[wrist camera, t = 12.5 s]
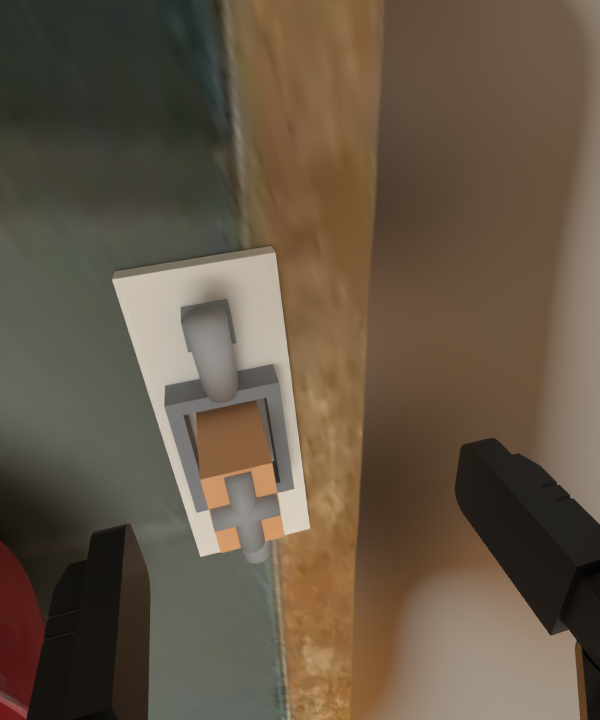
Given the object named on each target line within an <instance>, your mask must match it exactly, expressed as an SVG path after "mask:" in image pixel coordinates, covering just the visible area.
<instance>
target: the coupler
mask: <svg viewBox="0 0 600 720" xmlns="http://www.w3.org/2000/svg"><path fill="white" fill-rule="evenodd" d="M196 423H197V438H198V454H199V469H200V481H201V484H202V488H203V491H204V495H205V499H206V502H207V506H208V509H209V513H210V516H211V520H212V523H213V528H214V531H215V534H216V538H217V541H218V545H219V548H220V552H221V553H223V552H227V551H231V550H235V549H239V548H241V549H242V550H243V551H245V552H247V553H255V552H257V551H259V550H260V549H261V548H262V547H263V546H264V544H265V542H266V541H270V540H274V539H277V538H281V537H285V535H284V529H283V523H282V517H281V511H280V505H279V499H278V494H277V488H276V482H275V476H274V470H273V464H272V460H271V456H270V452H269V448H268V445H267V441H266V437H265V433H264V429H263V426H262V422H261V418H260V414H259V411H258V407H257V403H256V400H253V401H248V402H244V403H239V404H234V405H230V406H225V407H220V408H215V409H211V410H206V411H201V412H197V413H196Z"/></svg>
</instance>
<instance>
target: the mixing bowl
mask: <svg viewBox="0 0 600 720" xmlns="http://www.w3.org/2000/svg"><path fill="white" fill-rule="evenodd" d="M44 634H45V627H44V623H43V619H42V615H41V612H40V608H39V605H38V602H37V598H36V595H35V592H34V590H33V587H32V585H31V582H30V580H29V578H28V575H27V573H26V571H25V570H24V568H23V567H22V565H21V563H20V562H19V560H18V559H17V558H16V556H15V555H14V553H13V552H12V551H11V550H10V549H9V548H8V547H7V546H6V545H5V544H4V543H3V542H2V541H1V540H0V720H26V718H27V714H28V709H29V704H30V700H31V695H32V690H33V686H34V681H35V676H36V671H37V667H38V662H39V657H40V653H41V648H42V644H43V643H44Z"/></svg>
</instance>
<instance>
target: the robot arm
mask: <svg viewBox="0 0 600 720" xmlns="http://www.w3.org/2000/svg"><path fill="white" fill-rule="evenodd" d="M455 495H456V499H457V502H458V505H459V507H460V509H461V511H462V512H463V514H464V515H465V517H466V518H467V520H468V521H469V522H470V524H471V525H472V527H473V528H474V529H475V531H476V532H477V534H478V535H479V536H480V538H481V539H482V541H483V542H484V543H485V545H486V546H487V547H488V549H489V550H490V552H491V553H492V554H493V556H494V557H495V558H496V560H497V561H498V563H499V564H500V566H501V567H502V568H503V570H504V571H505V573H506V574H507V575H508V577H509V578H510V580H511V581H512V582H513V584H514V585H515V587H516V588H517V589H518V591H519V592H520V594H521V595H522V596H523V597H524V599H525V601H526V602H527V603H528V605H529V606H530V607H531V609H532V610H533V612H534V613H535V615H536V616H537V617H538V619H539V620H540V622H541V623H542V624H543V626H544V627H545V628H546V629H547V631H548V633H549V634H550V635H554V634H557V633H560V632H563V631H566V630H570V632H571V633H572V634H573V636H574V637H575V638H576V640H577V641H576V645H575V656H576V669H577V681H578V682H577V683H578V696H579V709H580V720H600V524H599V523H598V522H597V521H596V520H595V519H594V518H593V517H592V516H591V515H589V513H587V512H586V511H585V510H584V509H583V508H582V507H581V506H580V505H579V504H578V503H577V502H576V501H575V500H574V499H571V498H570V495H569V494H568V493H567V492H566V491H565V490H564V489H563V488H562V487H561V486H560V485H557V483H556V481H555V480H554V479H553V478H552V477H551V476H550V475H549V474H548V473H547V472H546V471H545V470H544V469H543V468H542V467H541V466H540V465H538V464H536V463H535V462H532V461H531V460H529V459H528V458H526V457H524V456H522V455H520V454H514V455H512V454H511V453H510V452H509V451H508V450H507V449H506V448H505V447H504V446H503V445H502V444H501V443H500V442H499V441H498V440H496V439H494V438H489V439H484V440H480V441H476V442H471V443H467V444H464V445H463V446H462V447H461V450H460V456H459V463H458V469H457V476H456V483H455ZM48 616H49V621H47V624H46V629H45V634H44V643H43V644H42V648H41V653H40V657H39V662H38V667H37V671H36V676H35V681H34V686H33V690H32V695H31V700H30V704H29V709H28V714H27V718H26V720H148V692H149V640H150V582H149V575H148V570H147V567H146V564H145V561H144V558H143V556H142V553H141V550H140V547H139V545H138V542H137V539H136V537H135V534H134V531H133V529H132V527H131V525H130V524H125V525H121V526H116V527H112V528H108V529H104V530H100V531H96V532H93V533H92V536H91V539H90V545H89V552H88V558H87V560H85V561H81V562H77V563H73V564H69V566H68V567H67V569H66V571H65V572H64V574H63V575H62V577H61V579H60V580H59V582H58V584H57V585H56V587H55V589H54V591H53V596H52V601H51V606H50V610H49V615H48Z"/></svg>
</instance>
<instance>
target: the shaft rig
mask: <svg viewBox="0 0 600 720" xmlns="http://www.w3.org/2000/svg"><path fill="white" fill-rule="evenodd" d="M112 281H113V284H114V287H115V290H116V293H117V296H118V299H119V303H120V306H121V309H122V312H123V315H124V318H125V321H126V325H127V328H128V331H129V334H130V337H131V340H132V343H133V346H134V350H135V353H136V356H137V359H138V362H139V365H140V368H141V372H142V375H143V378H144V381H145V384H146V387H147V390H148V393H149V397H150V400H151V403H152V406H153V409H154V412H155V415H156V419H157V422H158V425H159V428H160V431H161V434H162V437H163V440H164V444H165V447H166V450H167V453H168V456H169V459H170V462H171V466H172V469H173V472H174V475H175V478H176V481H177V484H178V487H179V491H180V494H181V497H182V500H183V503H184V506H185V509H186V513H187V516H188V519H189V522H190V525H191V528H192V531H193V535H194V538H195V541H196V544H197V547H198V550H199V553H200V556H201V557H202V556H206V555H210V554H214V553H218V552H220V548H219V545H218V541H217V538H216V534H215V531H214V528H213V523H212V520H211V516H210V513H209V509H208V506H207V502H206V499H205V495H204V491H203V488H202V484H201V481H200V469H199V454H198V438H197V423H196V413H197V412H201V411H206V410H211V409H215V408H220V407H225V406H230V405H234V404H239V403H244V402H248V401H253V400H256V403H257V407H258V411H259V414H260V418H261V422H262V426H263V429H264V433H265V437H266V441H267V445H268V448H269V452H270V456H271V460H272V464H273V470H274V476H275V482H276V488H277V494H278V499H279V505H280V511H281V517H282V523H283V529H284V535H287V534H291V533H295V532H299V531H303V530H307V529H310V524H309V516H308V508H307V500H306V492H305V484H304V476H303V468H302V460H301V452H300V444H299V436H298V428H297V420H296V412H295V405H294V397H293V389H292V381H291V373H290V365H289V357H288V349H287V341H286V333H285V325H284V317H283V309H282V301H281V293H280V285H279V277H278V269H277V261H276V253H275V251H274V249H273V248H272V246H267V247H261V248H255V249H249V250H243V251H237V252H231V253H225V254H218V255H212V256H206V257H200V258H194V259H188V260H182V261H176V262H169V263H163V264H157V265H151V266H145V267H139V268H133V269H127V270H121V271H115V273H114V275H113V278H112ZM243 554H244V557H245V559H246V560H247V561H248V562H250V563H261V562H263V561H265V560H266V559H267V558H268V557H269V556H270V554H271V544H270V541H266V542H265V544H264V546H263V547H262V548H261V549H260V550H259V551H257V552H255V553H247V552H245V551H243Z"/></svg>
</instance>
